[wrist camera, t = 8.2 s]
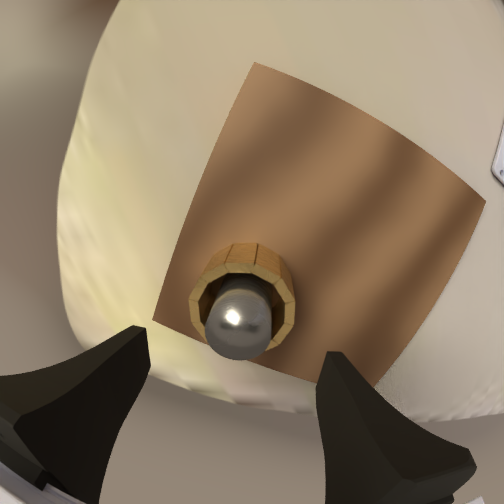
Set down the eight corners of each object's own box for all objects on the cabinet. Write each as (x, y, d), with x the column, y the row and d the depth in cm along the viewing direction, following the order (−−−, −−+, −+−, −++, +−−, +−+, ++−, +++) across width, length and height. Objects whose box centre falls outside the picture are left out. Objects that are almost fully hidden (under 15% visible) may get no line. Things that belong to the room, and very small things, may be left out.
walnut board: (478, 199, 16) (486, 201, 15) (362, 388, 21) (365, 396, 20) (255, 67, 15) (254, 61, 14) (157, 313, 20) (152, 319, 19)
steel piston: (279, 274, 17) (282, 321, 12) (259, 313, 18) (254, 368, 13) (234, 254, 17) (218, 294, 12) (216, 295, 18) (196, 345, 13)
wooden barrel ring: (307, 270, 17) (315, 296, 14) (262, 334, 19) (260, 368, 15) (228, 226, 17) (217, 242, 13) (190, 297, 18) (174, 325, 15)
